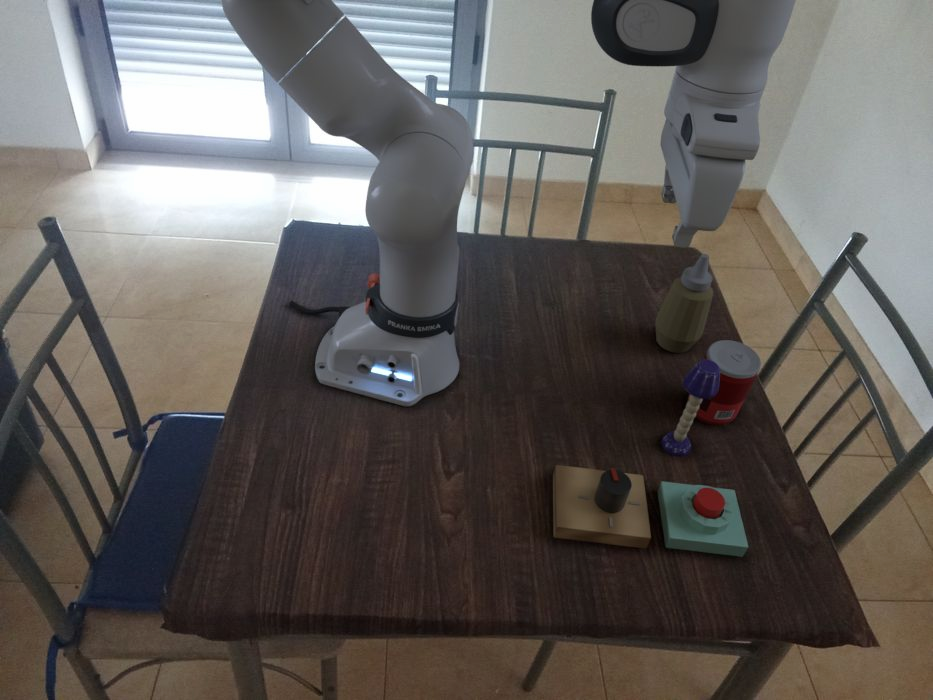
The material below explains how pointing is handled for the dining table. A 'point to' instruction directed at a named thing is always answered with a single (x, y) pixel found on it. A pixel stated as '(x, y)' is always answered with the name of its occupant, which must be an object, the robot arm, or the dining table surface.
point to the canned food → (729, 381)
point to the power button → (709, 502)
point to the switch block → (700, 521)
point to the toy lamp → (692, 404)
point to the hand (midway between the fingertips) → (673, 221)
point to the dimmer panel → (597, 510)
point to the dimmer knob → (612, 491)
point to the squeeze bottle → (685, 308)
